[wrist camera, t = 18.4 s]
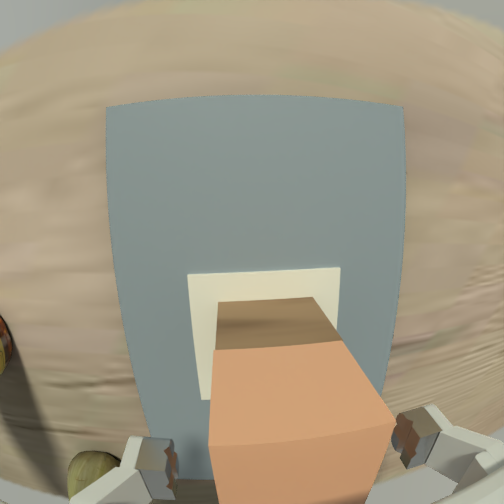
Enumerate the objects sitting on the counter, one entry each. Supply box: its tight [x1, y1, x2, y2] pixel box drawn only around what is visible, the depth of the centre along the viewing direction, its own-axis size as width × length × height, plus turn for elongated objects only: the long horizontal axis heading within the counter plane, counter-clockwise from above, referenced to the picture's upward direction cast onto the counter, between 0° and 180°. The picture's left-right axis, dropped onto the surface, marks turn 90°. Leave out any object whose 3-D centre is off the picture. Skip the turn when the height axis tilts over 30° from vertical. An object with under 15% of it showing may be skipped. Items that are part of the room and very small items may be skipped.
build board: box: [106, 95, 406, 480], centre depth 18 cm, size 26×16×1 cm, turn 2°
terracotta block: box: [208, 340, 396, 504], centre depth 10 cm, size 5×5×5 cm
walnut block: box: [215, 297, 343, 350], centre depth 15 cm, size 5×5×5 cm
